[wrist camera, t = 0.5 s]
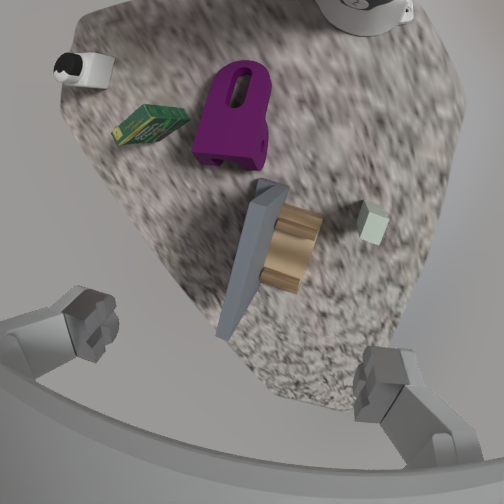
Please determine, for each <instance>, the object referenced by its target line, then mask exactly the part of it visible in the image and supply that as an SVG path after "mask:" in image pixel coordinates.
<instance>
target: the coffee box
mask: <svg viewBox="0 0 504 504" xmlns="http://www.w3.org/2000/svg"><path fill="white" fill-rule="evenodd" d="M189 120H190V118H189V116H188V114H187V112H186V110H185V109H183V108H175V107H167V106H158V105H149V104H143V105H142V106H141V107H140V108H138V109H137V110H136V111H135V112H134V113H133V114H132V115H130V116H129V117H128V118H127V119H126V120H125V121H124V122H122V123H121V124H120V125H119V126H118V127H117V128H116V129H115V130H114V131H113V132H112V133H111V134H112V136H113V138H114V140H115V142H116V144H117V145H126V144H135V143H145V142H155V141H160V140H162V139H163V138H165V137H166V136H168V135H169V134H170V133H172V132H173V131H175V130H176V129H178V128H179V127H180V126H182V125H184V124H185V123H186V122H188V121H189Z"/></svg>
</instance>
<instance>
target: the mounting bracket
mask: <svg viewBox="0 0 504 504" xmlns="http://www.w3.org/2000/svg"><path fill="white" fill-rule="evenodd" d="M245 74H249V75H252V77H251V80H250V84H249V88H248V91H247V95H246V99H245V102H244V104H243V105H242V106H240V107H238V108H229V104H230V100H231V97H232V93H233V90H234V86H235V83H236V80H237V78H238V77H240V76H241V75H245ZM271 89H272V84H271V79H270V75H269V72H268V71H267V69H266V68H265V67H264V66H263V65H261V64H260V63H258V62H255V61H249V60H242V61H236V62H233V63H231V64H228V65H227V66H225V67H223V68H222V69H221V70H220V71H219V72H218V73H217V74H216V76H215V77H214V80H213V82H212V85H211V88H210V91H209V95H208V98H207V101H206V104H205V107H204V110H203V114H202V117H201V120H200V123H199V127H198V130H197V134H196V137H195V140H194V144H193V147H192V151H191V152H192V153H193V154H194V156H195V157H196V158H197V159H198V160H199V161H200V162H201V163H202V164H204V165H214V166H219V165H221V164H222V163H223V161H224V160H230V161H239V162H240V164H241V165H242V167H243V168H244V169H249V170H257V171H261V170H262V168H263V166H264V163H265V160H266V155H267V147H268V126H267V123H266V120H265V116H266V111H267V107H268V102H269V98H270V93H271Z"/></svg>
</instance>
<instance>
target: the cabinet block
mask: <svg viewBox="0 0 504 504" xmlns="http://www.w3.org/2000/svg"><path fill="white" fill-rule="evenodd" d="M388 221H389V218H388V217H387V215H386V214H385V212H384V211H383V209H382V207H381V206H380V205H377V204H375V203H372V202H369V201H367V200H364V201H363V203H362V206H361V209H360V212H359V215H358V218H357V220H356V224H357V228H358V233H359V238H360V239H363V240H365V241H368V242H371V243H373V244H376V245H379V244H380V242H381V239H382V237H383V234H384V232H385V229H386V227H387V224H388Z"/></svg>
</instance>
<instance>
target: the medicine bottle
mask: <svg viewBox="0 0 504 504" xmlns="http://www.w3.org/2000/svg"><path fill="white" fill-rule="evenodd" d="M114 61H115V58H114V57H111V56H107V55H103V54H98V53H64V54H63V55H61V56H60V57H59V58H58V60H57V61H56V63H55V66H54V77H55V79H56V80H57V81H58V82H65V84H64V85H65V86H76V87H88V88H100V89H107V88H108V85H109V81H110V77H111V73H112V69H113V65H114Z"/></svg>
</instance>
